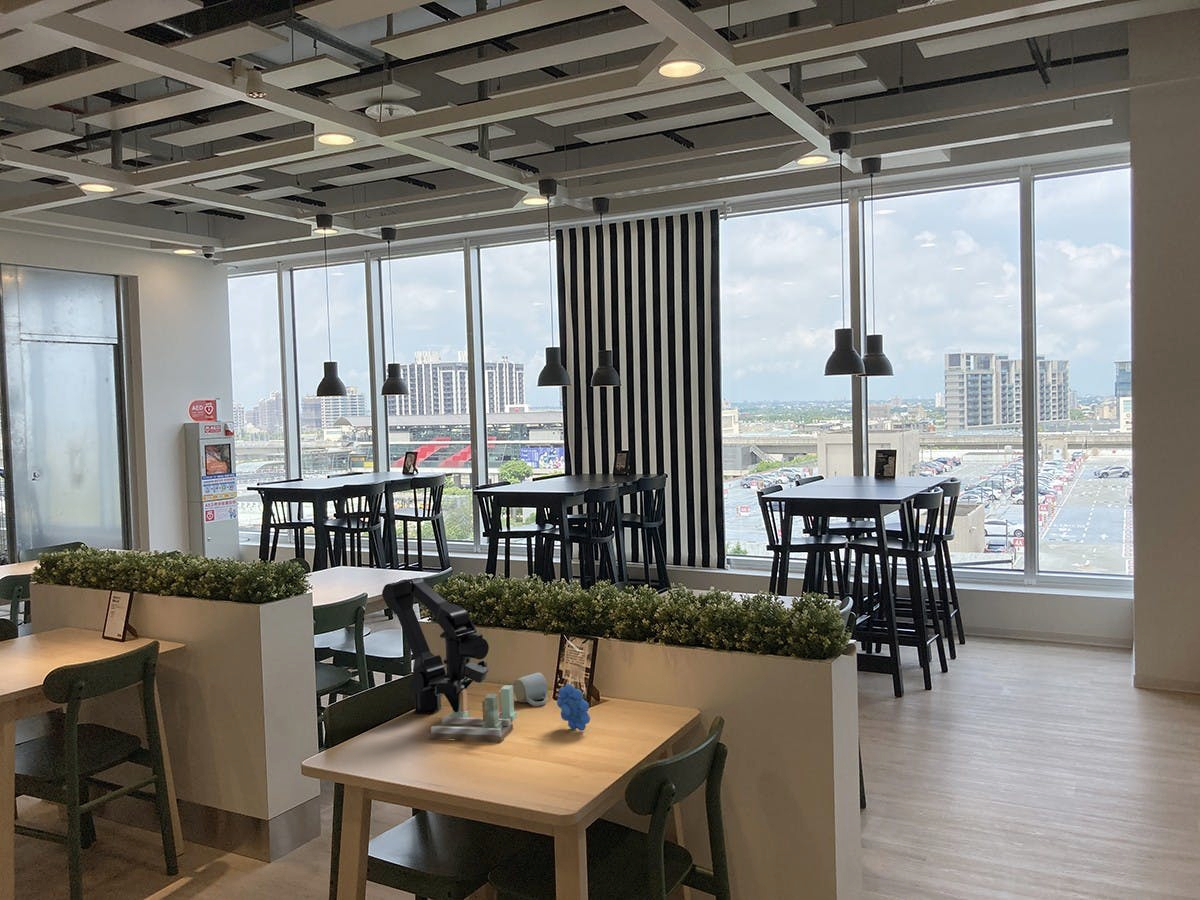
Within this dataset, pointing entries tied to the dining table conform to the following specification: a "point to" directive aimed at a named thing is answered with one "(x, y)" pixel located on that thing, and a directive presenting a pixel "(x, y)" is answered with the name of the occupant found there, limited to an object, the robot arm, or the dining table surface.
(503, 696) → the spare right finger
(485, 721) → the rail board
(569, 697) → the grapes
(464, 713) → the stepped sage green block
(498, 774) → the dining table surface
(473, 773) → the dining table surface
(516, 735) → the dining table surface
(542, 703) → the ceramic mug
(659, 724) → the dining table surface
